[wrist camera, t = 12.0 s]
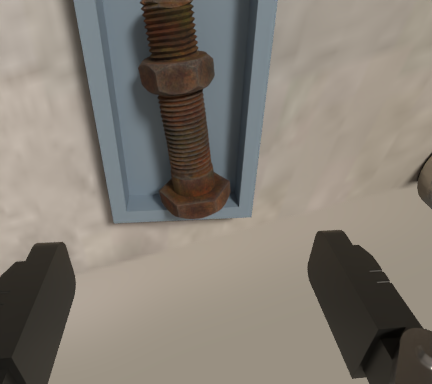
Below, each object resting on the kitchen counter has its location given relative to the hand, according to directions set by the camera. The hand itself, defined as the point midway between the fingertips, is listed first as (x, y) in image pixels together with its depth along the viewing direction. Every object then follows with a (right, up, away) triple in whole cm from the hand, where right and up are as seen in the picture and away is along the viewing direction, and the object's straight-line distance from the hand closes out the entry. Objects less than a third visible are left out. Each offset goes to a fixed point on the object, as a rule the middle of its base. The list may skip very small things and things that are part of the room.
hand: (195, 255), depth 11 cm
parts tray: (-2, +10, +15) cm, 18 cm away
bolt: (-2, +9, +15) cm, 17 cm away
